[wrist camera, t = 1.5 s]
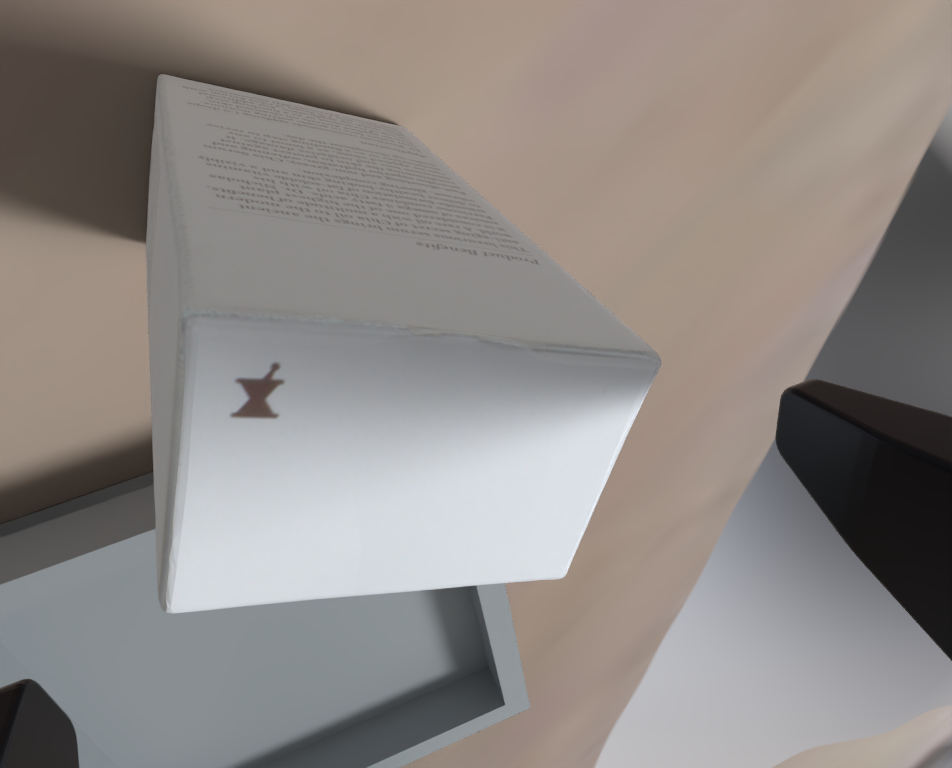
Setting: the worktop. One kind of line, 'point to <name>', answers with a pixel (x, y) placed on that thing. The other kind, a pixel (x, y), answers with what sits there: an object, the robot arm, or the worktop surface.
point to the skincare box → (360, 365)
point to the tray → (239, 655)
